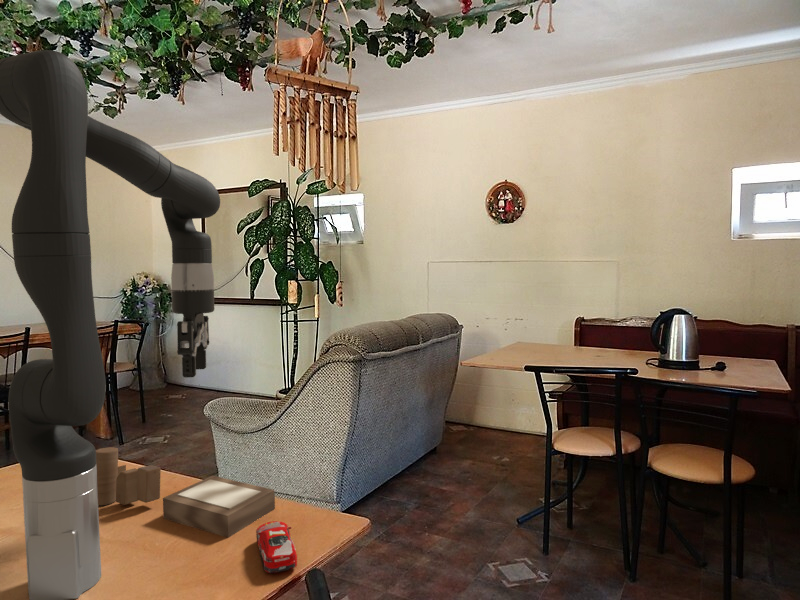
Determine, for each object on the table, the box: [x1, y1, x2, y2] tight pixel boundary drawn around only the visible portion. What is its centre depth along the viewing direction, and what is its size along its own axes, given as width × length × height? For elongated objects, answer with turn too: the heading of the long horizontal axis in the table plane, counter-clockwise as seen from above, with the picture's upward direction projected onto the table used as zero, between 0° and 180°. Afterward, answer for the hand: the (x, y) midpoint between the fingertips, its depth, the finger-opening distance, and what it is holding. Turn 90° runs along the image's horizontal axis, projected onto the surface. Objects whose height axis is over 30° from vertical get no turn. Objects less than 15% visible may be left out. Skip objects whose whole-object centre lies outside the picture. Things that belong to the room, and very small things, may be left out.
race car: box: [255, 520, 298, 574], centre depth 88 cm, size 13×5×4 cm, turn 20°
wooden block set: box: [95, 446, 162, 506], centre depth 110 cm, size 18×9×10 cm, turn 56°
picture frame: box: [162, 475, 276, 538], centre depth 103 cm, size 16×12×4 cm
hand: (195, 372), depth 106 cm, fingers open, 8 cm apart
